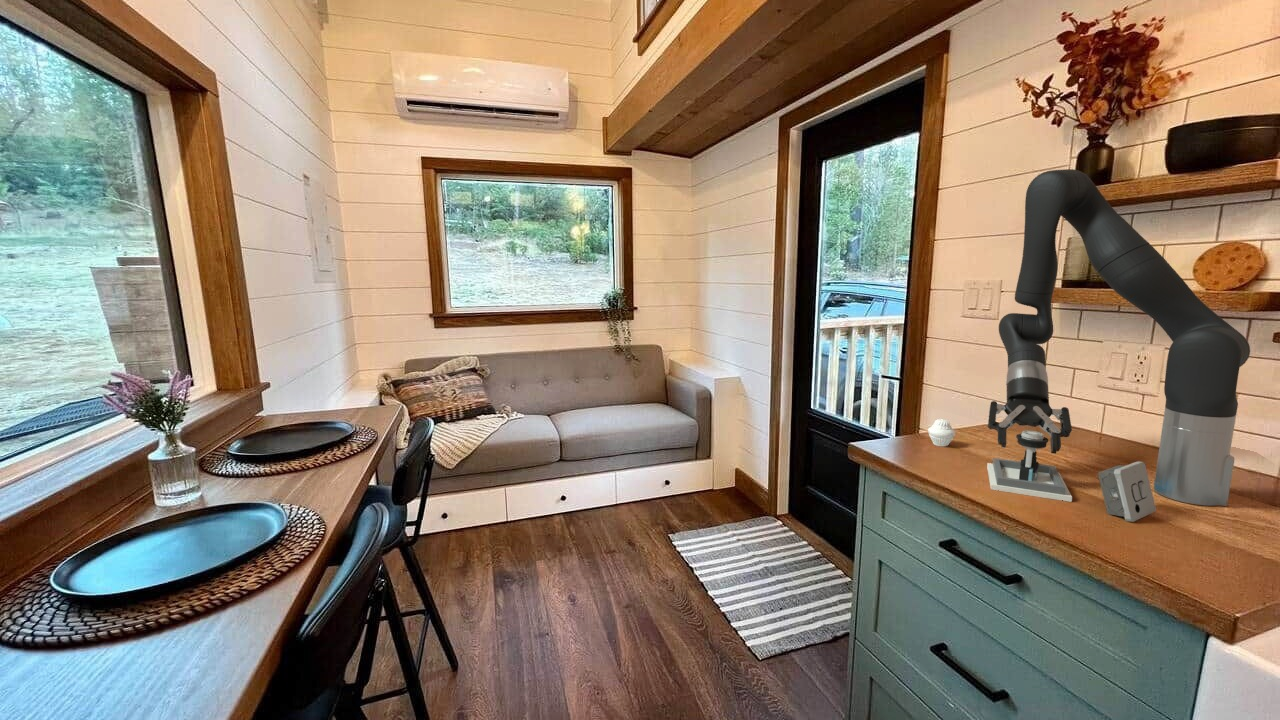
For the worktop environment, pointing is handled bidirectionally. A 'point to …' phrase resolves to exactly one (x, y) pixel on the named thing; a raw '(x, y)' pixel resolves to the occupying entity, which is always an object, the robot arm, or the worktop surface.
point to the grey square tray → (1045, 486)
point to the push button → (1030, 453)
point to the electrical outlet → (1127, 491)
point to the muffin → (941, 433)
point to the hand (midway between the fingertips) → (1028, 448)
